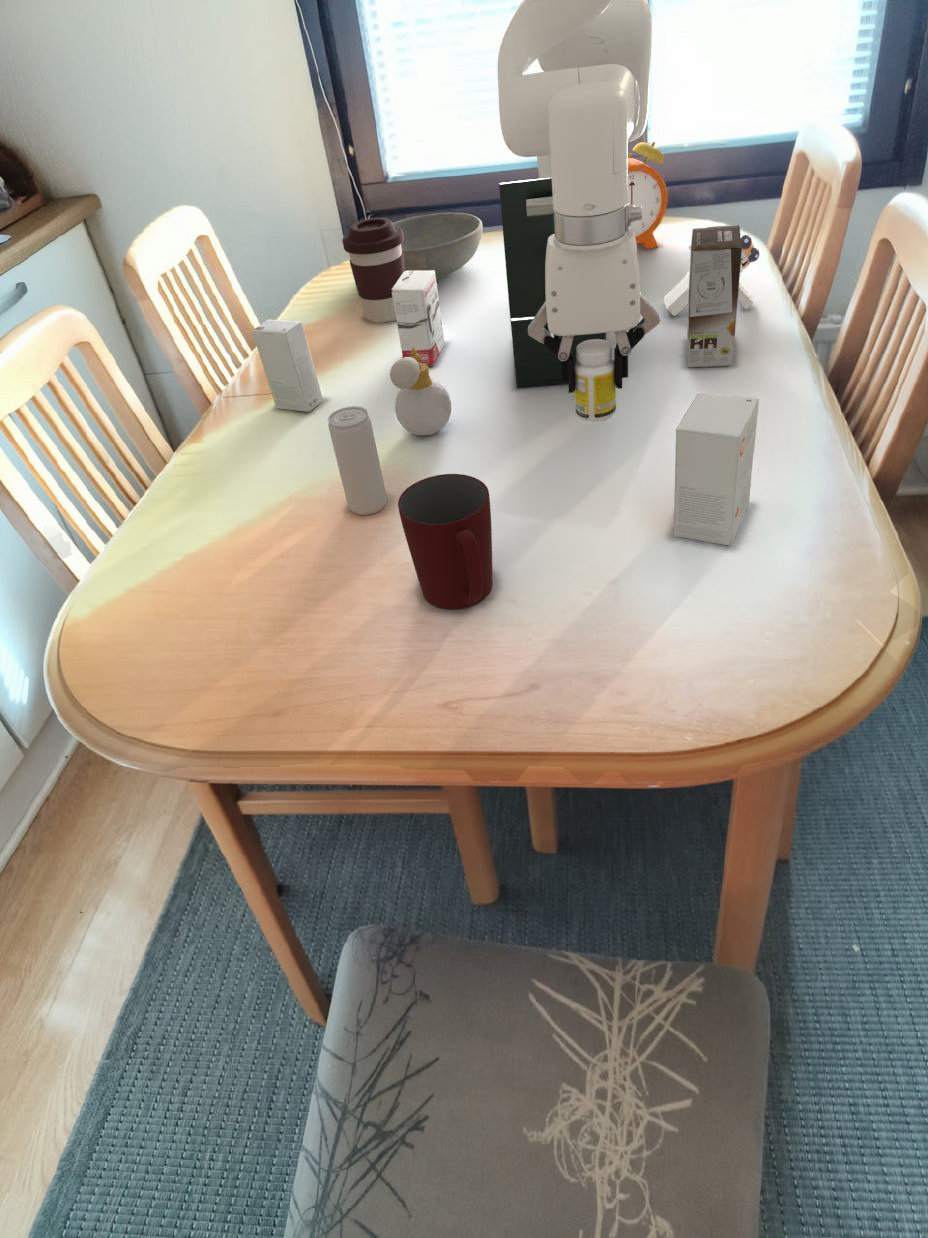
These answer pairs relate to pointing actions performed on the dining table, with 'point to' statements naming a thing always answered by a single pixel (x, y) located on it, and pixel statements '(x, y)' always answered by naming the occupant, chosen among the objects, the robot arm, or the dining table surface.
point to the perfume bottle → (419, 397)
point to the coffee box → (713, 295)
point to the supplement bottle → (594, 381)
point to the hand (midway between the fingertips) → (594, 383)
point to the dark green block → (526, 242)
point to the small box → (714, 467)
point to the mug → (449, 538)
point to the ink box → (419, 315)
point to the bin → (538, 356)
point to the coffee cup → (375, 265)
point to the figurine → (681, 291)
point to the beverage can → (357, 460)
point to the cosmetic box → (288, 365)
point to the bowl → (439, 241)
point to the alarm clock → (646, 193)
